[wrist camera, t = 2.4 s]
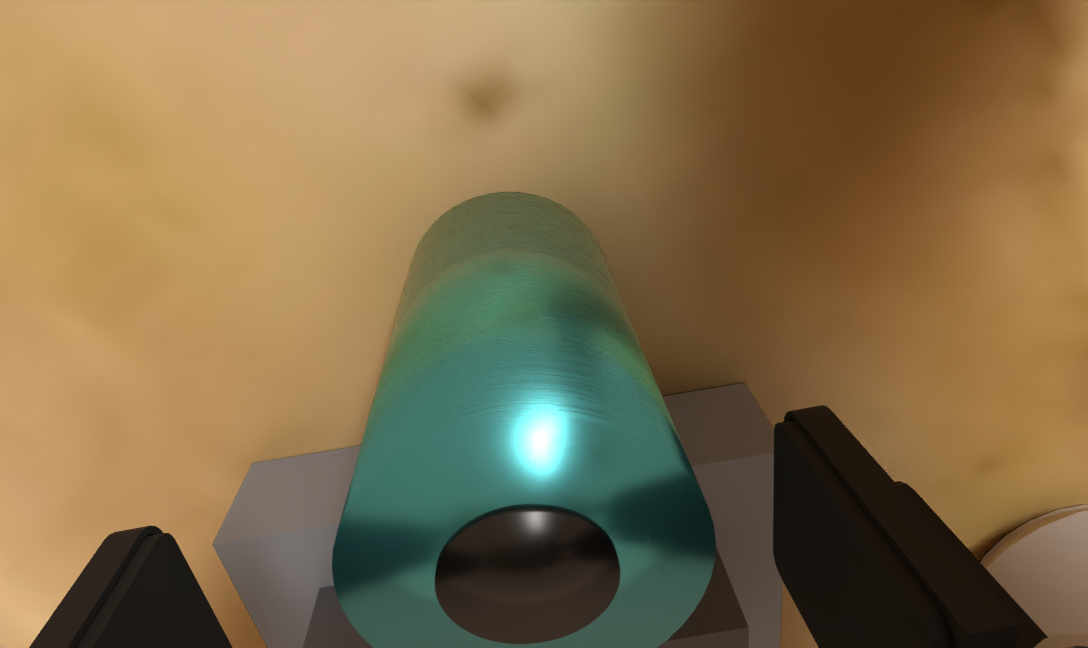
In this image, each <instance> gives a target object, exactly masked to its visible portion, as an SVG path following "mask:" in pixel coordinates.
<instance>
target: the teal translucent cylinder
mask: <svg viewBox="0 0 1088 648" xmlns="http://www.w3.org/2000/svg"><path fill="white" fill-rule="evenodd" d="M715 552H716V538H715V530H714V524H713V520H712V517H711V514H710V511H709V508H708V505H707V503H706V500H705V498H704V495H703V493H702V491H701V488H700V486H699V484H698V481H697V479H696V476H695V474H694V472H693V469H692V467H691V464H690V462H689V460H688V457H687V455H686V452H685V450H684V448H683V445H682V443H681V440H680V438H679V436H678V433H677V431H676V428H675V426H674V424H673V421H672V419H671V416H670V414H669V412H668V409H667V407H666V404H665V402H664V400H663V397H662V395H661V392H660V390H659V388H658V385H657V383H656V380H655V378H654V376H653V373H652V371H651V368H650V366H649V364H648V361H647V359H646V356H645V354H644V352H643V349H642V347H641V344H640V342H639V340H638V337H637V335H636V332H635V330H634V328H633V325H632V323H631V320H630V318H629V316H628V313H627V311H626V308H625V306H624V304H623V301H622V299H621V296H620V294H619V292H618V289H617V287H616V284H615V282H614V280H613V277H612V275H611V272H610V270H609V268H608V265H607V263H606V260H605V258H604V256H603V253H602V251H601V249H600V247H599V245H598V243H597V241H596V239H595V237H594V236H593V234H592V233H591V232H590V230H589V229H588V228H587V226H586V225H585V224H584V223H583V222H582V221H581V220H580V219H579V218H578V217H576V216H575V215H574V214H573V213H572V212H570V211H569V210H567V209H566V208H564V207H562V206H561V205H559V204H557V203H555V202H553V201H551V200H548V199H546V198H543V197H539V196H536V195H532V194H526V193H520V192H500V193H491V194H486V195H482V196H478V197H475V198H472V199H470V200H467V201H464V202H463V203H461V204H459V205H457V206H455V207H453V208H452V209H450V210H449V211H447V212H446V213H445V214H443V215H442V216H441V217H440V218H439V219H438V220H437V221H436V222H434V223H433V224H432V226H431V227H430V228H429V229H428V231H427V232H426V233H425V234H424V236H423V238H422V239H421V241H420V243H419V244H418V246H417V249H416V251H415V253H414V256H413V259H412V262H411V266H410V270H409V273H408V277H407V281H406V284H405V288H404V291H403V295H402V299H401V302H400V306H399V309H398V313H397V317H396V320H395V324H394V328H393V331H392V335H391V338H390V342H389V346H388V349H387V353H386V357H385V360H384V364H383V367H382V371H381V375H380V378H379V382H378V386H377V389H376V393H375V396H374V400H373V404H372V407H371V411H370V414H369V418H368V422H367V425H366V429H365V433H364V436H363V440H362V443H361V447H360V451H359V454H358V458H357V462H356V465H355V469H354V472H353V476H352V480H351V483H350V487H349V490H348V494H347V498H346V501H345V505H344V509H343V512H342V516H341V519H340V523H339V527H338V530H337V534H336V538H335V543H334V547H333V555H332V574H333V581H334V587H335V590H336V594H337V597H338V600H339V603H340V605H341V607H342V609H343V611H344V613H345V614H346V616H347V618H348V620H349V621H350V623H351V624H352V625H353V627H354V628H355V629H356V631H357V632H358V633H359V634H360V636H361V637H362V638H363V639H365V640H366V641H367V642H368V643H369V644H370V645H371V646H372V647H373V648H657V647H659V646H660V645H661V644H662V643H664V642H665V641H666V640H668V639H669V638H670V637H671V636H672V635H673V634H674V633H675V632H676V631H677V630H678V629H679V628H680V627H681V626H682V625H683V624H684V623H685V621H686V620H687V619H688V618H689V616H690V615H691V614H692V613H693V611H694V610H695V608H696V607H697V605H698V603H699V602H700V600H701V599H702V597H703V595H704V593H705V591H706V588H707V586H708V583H709V581H710V579H711V575H712V571H713V567H714V562H715Z"/></svg>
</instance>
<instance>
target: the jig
mask: <svg viewBox="0 0 1088 648" xmlns="http://www.w3.org/2000/svg"><path fill="white" fill-rule="evenodd" d="M662 397H663V400H664V402H665V404H666V407H667V409H668V412H669V414H670V416H671V419H672V421H673V424H674V426H675V428H676V431H677V433H678V436H679V438H680V440H681V443H682V445H683V448H684V450H685V452H686V455H687V457H688V460H689V462H690V464H691V467H692V469H693V472H694V474H695V476H696V479H697V481H698V484H699V486H700V488H701V491H702V493H703V495H704V498H705V500H706V503H707V505H708V508H709V511H710V514H711V517H712V520H713V524H714V530H715V538H716V552H715V562H714V567H713V571H712V575H711V579H710V581H709V583H708V586H707V588H706V591H705V593H704V595H703V597H702V599H701V600H700V602H699V603H698V605H697V607H696V608H695V610H694V611H693V613H692V614H691V615H690V616H689V618H688V619H687V620H686V621H685V623H684V624H683V625H682V626H681V627H680V628H679V629H678V630H677V631H676V632H675V633H674V634H673V635H672V636H671V637H670V638H669V639H668V640H666V641H665V642H664V643H662V644H661V645H660V646H659V647H657V648H780V636H781V610H782V584H783V580H782V578H781V576H780V574H779V572H778V570H777V567H776V564H775V560H774V555H773V490H774V428H773V427H772V425H771V424H770V422H769V420H768V419H767V417H766V416H765V414H764V413H763V411H762V409H761V408H760V406H759V405H758V403H757V402H756V400H755V398H754V397H753V395H752V394H751V392H750V391H749V389H748V387H747V386H746V384H745V383H741V384H735V385H728V386H722V387H716V388H710V389H704V390H698V391H692V392H686V393H679V394H673V395H667V396H662ZM360 447H361V446H355V447H349V448H343V449H336V450H330V451H324V452H318V453H312V454H306V455H300V456H294V457H287V458H281V459H275V460H269V461H263V462H257V463H252V465H251V467H250V469H249V471H248V473H247V475H246V477H245V479H244V481H243V483H242V485H241V487H240V489H239V491H238V493H237V495H236V497H235V499H234V501H233V503H232V505H231V507H230V509H229V511H228V513H227V515H226V517H225V519H224V522H223V524H222V526H221V528H220V530H219V532H218V534H217V536H216V538H215V540H214V542H213V544H212V545H213V547H214V549H215V550H216V552H217V554H218V556H219V558H220V560H221V562H222V564H223V565H224V567H225V569H226V571H227V573H228V575H229V577H230V579H231V580H232V582H233V584H234V586H235V588H236V590H237V592H238V594H239V596H240V597H241V599H242V601H243V603H244V605H245V607H246V609H247V611H248V612H249V614H250V616H251V618H252V620H253V622H254V624H255V626H256V628H257V629H258V631H259V633H260V635H261V637H262V639H263V641H264V643H265V644H266V646H267V648H373V647H372V646H371V645H370V644H369V643H368V642H367V641H366V640H365V639H363V638H362V637H361V636H360V634H359V633H358V632H357V631H356V629H355V628H354V627H353V625H352V624H351V623H350V621H349V620H348V618H347V616H346V614H345V613H344V611H343V609H342V607H341V605H340V603H339V600H338V597H337V594H336V590H335V587H334V581H333V574H332V555H333V547H334V543H335V538H336V534H337V530H338V527H339V523H340V519H341V516H342V512H343V509H344V505H345V501H346V498H347V494H348V490H349V487H350V483H351V480H352V476H353V472H354V469H355V465H356V462H357V458H358V454H359V451H360Z"/></svg>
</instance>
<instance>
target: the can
mask: <svg viewBox="0 0 1088 648" xmlns="http://www.w3.org/2000/svg"><path fill="white" fill-rule="evenodd" d="M980 563H981V564H982V565H983V566H984V567H985V568H986V569H987V570H988V572H989V573H990V574H991V575H992V576H993V577H994V578H995V579H996V580H997V581H998V583H999V584H1000V585H1001V586H1002V587H1003V588H1004V589H1005V590H1006V591H1007V592H1008V594H1009V595H1010V596H1011V597H1012V598H1013V599H1014V600H1015V601H1016V602H1017V603H1018V604H1019V606H1020V607H1021V608H1022V609H1023V610H1024V611H1025V612H1026V613H1027V614H1028V615H1029V617H1030V618H1031V619H1032V620H1033V621H1034V622H1035V623H1036V624H1037V625H1038V626H1039V628H1040V629H1041V630H1042V631H1043V632H1044V633H1045V634H1046V635H1047V636H1048V637H1053V636H1056V635H1060V634H1085V635H1088V505H1080V506H1074V507H1069V508H1064V509H1058V510H1055V511H1052V512H1050V513H1047V514H1045V515H1042V516H1040V517H1037V518H1035V519H1032V520H1030V521H1028V522H1026V523H1025V524H1023V525H1022V526H1020V527H1018V528H1017V529H1015V530H1014V531H1012V532H1011V533H1009V534H1008V535H1006V536H1004V537H1003V538H1002V539H1001V540H1000V541H999V542H998V543H997V544H996V545H995V546H994V547H993V548H992V549H991V550H990V551H989V552H988V553H987V554H986V555H985V556H984V557H983V559H982V561H981V562H980Z"/></svg>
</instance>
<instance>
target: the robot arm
mask: <svg viewBox="0 0 1088 648" xmlns="http://www.w3.org/2000/svg"><path fill="white" fill-rule="evenodd" d="M773 555H774V560H775V564H776V567H777V570H778V572H779V574H780V576H781V578H782V580H783V582H784V584H785V586H786V587H787V589H788V591H789V593H790V595H791V597H792V599H793V601H794V602H795V604H796V606H797V608H798V610H799V612H800V614H801V615H802V617H803V619H804V621H805V623H806V625H807V627H808V628H809V630H810V632H811V634H812V636H813V638H814V640H815V641H816V643H817V645H818V647H819V648H1088V635H1085V634H1060V635H1056V636H1053V637H1048V636H1047V635H1046V634H1045V633H1044V632H1043V631H1042V630H1041V629H1040V628H1039V626H1038V625H1037V624H1036V623H1035V622H1034V621H1033V620H1032V619H1031V618H1030V617H1029V615H1028V614H1027V613H1026V612H1025V611H1024V610H1023V609H1022V608H1021V607H1020V606H1019V604H1018V603H1017V602H1016V601H1015V600H1014V599H1013V598H1012V597H1011V596H1010V595H1009V594H1008V592H1007V591H1006V590H1005V589H1004V588H1003V587H1002V586H1001V585H1000V584H999V583H998V581H997V580H996V579H995V578H994V577H993V576H992V575H991V574H990V573H989V572H988V570H987V569H986V568H985V567H984V566H983V565H982V564H981V563H980V562H979V561H978V559H977V558H976V557H975V556H974V555H973V554H972V553H971V552H970V551H969V550H968V549H967V547H966V546H965V545H964V544H963V543H962V542H961V541H960V540H959V539H958V538H957V536H956V535H955V534H954V533H953V532H952V531H951V530H950V529H949V528H948V527H947V525H946V524H945V523H944V522H943V521H942V520H941V519H940V518H939V517H938V516H937V514H936V513H935V512H934V511H933V510H932V509H931V508H930V507H929V506H928V505H927V504H926V502H925V501H924V500H923V499H922V498H921V497H920V496H919V495H918V494H917V493H916V491H914V490H913V489H912V488H911V487H910V486H909V485H907V484H905V483H903V482H900V481H898V482H894V481H893V480H892V479H891V477H890V476H889V475H888V474H887V473H886V472H885V471H884V470H883V468H882V467H881V466H880V465H879V464H878V463H877V462H876V461H875V459H874V458H873V457H872V456H871V455H870V454H869V453H868V451H867V450H866V449H865V448H864V447H863V446H862V445H861V444H860V442H859V441H858V440H857V439H856V438H855V437H854V436H853V435H852V433H851V432H850V431H849V430H848V429H847V428H846V427H845V426H844V424H843V423H842V422H841V421H840V420H839V419H838V418H837V416H836V415H835V414H834V413H833V412H832V411H831V410H830V409H829V408H828V407H827V406H823V405H822V406H816V407H811V408H805V409H800V410H794V411H789V412H787V413H786V415H785V417H784V422H781V423H777V424H776V425H775V428H774V490H773ZM29 648H232V646H231V644H230V642H229V640H228V638H227V636H226V635H225V633H224V631H223V629H222V627H221V625H220V623H219V621H218V620H217V618H216V616H215V614H214V612H213V610H212V608H211V606H210V604H209V603H208V601H207V599H206V597H205V595H204V593H203V591H202V589H201V588H200V586H199V584H198V582H197V580H196V578H195V576H194V574H193V573H192V571H191V569H190V567H189V565H188V563H187V561H186V559H185V558H184V556H183V554H182V552H181V550H180V548H179V546H178V544H177V542H176V541H175V539H174V538H173V536H172V535H170V534H169V533H163V532H162V531H161V530H160V529H159V528H158V527H156V526H147V527H141V528H135V529H130V530H124V531H119V532H114V533H112V534H110V535H109V536H108V537H107V538H106V539H105V540H104V541H103V543H102V544H101V546H100V547H99V548H98V550H97V551H96V553H95V554H94V556H93V557H92V558H91V560H90V561H89V563H88V564H87V566H86V567H85V568H84V570H83V571H82V573H81V574H80V576H79V577H78V578H77V580H76V581H75V583H74V584H73V586H72V587H71V588H70V590H69V591H68V593H67V594H66V596H65V597H64V599H63V600H62V601H61V603H60V604H59V606H58V607H57V609H56V610H55V611H54V613H53V614H52V616H51V617H50V619H49V620H48V621H47V623H46V624H45V626H44V627H43V629H42V630H41V631H40V633H39V634H38V636H37V637H36V639H35V640H34V641H33V643H32V644H31V646H30V647H29Z"/></svg>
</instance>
